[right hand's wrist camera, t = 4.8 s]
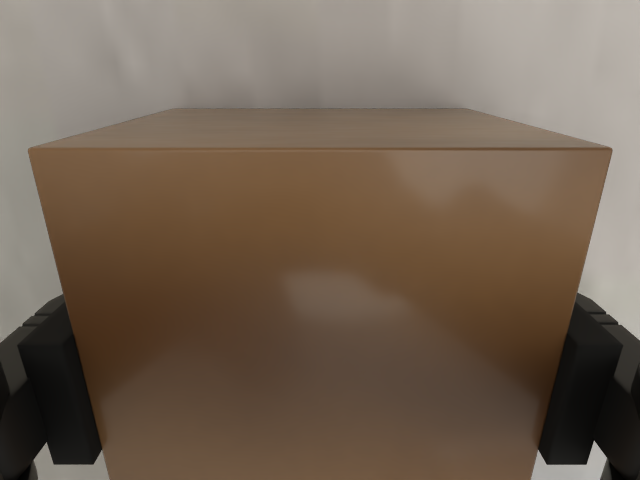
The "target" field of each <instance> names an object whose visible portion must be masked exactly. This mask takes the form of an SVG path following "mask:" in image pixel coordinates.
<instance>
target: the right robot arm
mask: <svg viewBox="0 0 640 480" xmlns="http://www.w3.org/2000/svg"><path fill="white" fill-rule="evenodd" d="M594 441H595V442H596V443H597V445H598V446H599V447H600V449H601V450H602V451H603V453H604V454H605V455H606V457H607V460H606V463H605V466H604V469H603V472H602V475H601V478H600V480H640V340H638V339H637V338H636V337H635V336H634V335H632V334H631V333H630V332H629V331H628V330H627V329H625V328H624V327H623V326H622V325H618V322H617V321H616V320H615V319H614V318H613V317H611V316H610V315H606V312H605V311H604V310H603V309H602V308H601V307H600V306H598V305H597V304H596V303H595V302H594V301H593V300H591V299H589V298H587V297H585V296H583V295H581V294H579V293H577V295H576V299H575V303H574V307H573V311H572V315H571V319H570V323H569V327H568V331H567V335H566V340H565V344H564V348H563V352H562V356H561V360H560V364H559V368H558V372H557V376H556V380H555V384H554V388H553V392H552V396H551V400H550V404H549V408H548V412H547V416H546V420H545V424H544V428H543V432H542V436H541V440H540V444H539V448H538V450H539V452H540V453H541V455H542V457H543V459H544V460H545V462H546V464H547V465H586V464H587V461H588V458H589V455H590V451H591V448H592V445H593V442H594ZM46 442H47V444H48V447H49V450H50V454H51V457H52V460H53V463H54V464H94V463H95V461H96V459H97V457H98V456H99V454H100V452H101V450H102V447H101V443H100V439H99V435H98V431H97V427H96V423H95V419H94V415H93V411H92V407H91V403H90V399H89V395H88V391H87V387H86V383H85V378H84V374H83V370H82V366H81V362H80V358H79V354H78V350H77V346H76V342H75V338H74V334H73V330H72V326H71V322H70V318H69V314H68V310H67V306H66V302H65V298H64V294H62V295H60V296H58V297H56V298H54V299H53V300H51V301H49V302H48V303H46V304H45V305H44V306H43V307H42V308H41V309H39V310H38V311H37V312H36V313H35V316H31V317H30V318H29V319H28V320H27V321H25V322H24V323H23V326H22V327H18V328H17V329H16V330H15V331H14V332H13V333H11V334H10V335H9V336H8V337H7V338H6V339H4V340H3V341H2V342H1V343H0V480H38V476H37V470H36V466H35V463H34V458H35V457H36V456H37V454H38V453H39V451H40V450H41V449H42V447H43V446H44V445H45V443H46Z"/></svg>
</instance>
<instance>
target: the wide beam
mask: <svg viewBox="0 0 640 480" xmlns="http://www.w3.org/2000/svg"><path fill="white" fill-rule="evenodd" d="M28 154H29V158H30V162H31V166H32V170H33V174H34V178H35V182H36V186H37V190H38V194H39V198H40V202H41V206H42V210H43V214H44V218H45V222H46V226H47V230H48V234H49V238H50V242H51V246H52V250H53V254H54V258H55V262H56V266H57V270H58V274H59V278H60V282H61V286H62V290H63V294H64V298H65V302H66V306H67V310H68V314H69V318H70V322H71V326H72V330H73V334H74V338H75V342H76V346H77V350H78V354H79V358H80V362H81V366H82V370H83V374H84V378H85V383H86V387H87V391H88V395H89V399H90V403H91V407H92V411H93V415H94V419H95V423H96V427H97V431H98V435H99V439H100V443H101V447H102V451H103V455H104V459H105V463H106V467H107V471H108V475H109V479H110V480H531V476H532V472H533V468H534V464H535V460H536V456H537V452H538V448H539V444H540V440H541V436H542V432H543V428H544V424H545V420H546V416H547V412H548V408H549V404H550V400H551V396H552V392H553V388H554V384H555V380H556V376H557V372H558V368H559V364H560V360H561V356H562V352H563V348H564V344H565V340H566V335H567V331H568V327H569V323H570V319H571V315H572V311H573V307H574V303H575V299H576V295H577V291H578V287H579V283H580V279H581V275H582V271H583V267H584V263H585V259H586V255H587V251H588V247H589V243H590V239H591V235H592V231H593V227H594V223H595V219H596V215H597V211H598V207H599V203H600V199H601V195H602V191H603V187H604V183H605V179H606V175H607V171H608V167H609V163H610V159H611V155H612V148H610V147H607V146H603V145H600V144H596V143H592V142H588V141H585V140H581V139H577V138H574V137H570V136H566V135H562V134H559V133H555V132H551V131H548V130H544V129H540V128H537V127H533V126H529V125H525V124H522V123H518V122H514V121H511V120H507V119H503V118H499V117H496V116H492V115H488V114H485V113H481V112H477V111H473V110H470V109H170V110H166V111H163V112H159V113H155V114H152V115H148V116H144V117H141V118H137V119H133V120H130V121H126V122H122V123H119V124H115V125H111V126H108V127H104V128H100V129H97V130H93V131H89V132H86V133H82V134H78V135H75V136H71V137H67V138H64V139H60V140H56V141H53V142H49V143H45V144H42V145H38V146H34V147H31V148H29V149H28Z"/></svg>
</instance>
